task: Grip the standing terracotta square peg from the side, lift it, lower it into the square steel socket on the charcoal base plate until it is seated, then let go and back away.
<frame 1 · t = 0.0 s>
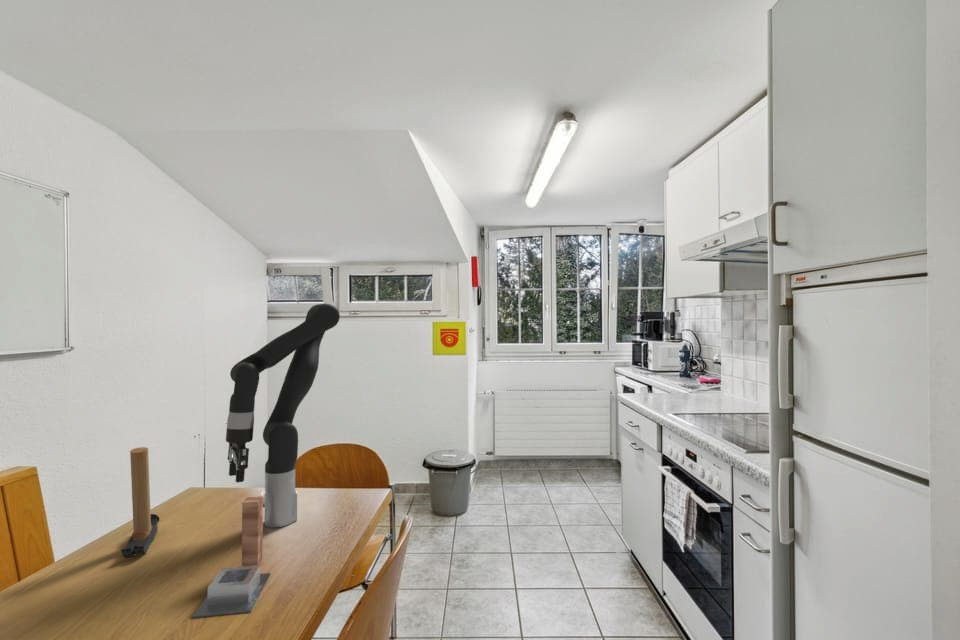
hand: (236, 478, 143), 17 cm above the table, tool pointing down, fingers open, 8 cm apart
mooncake: (277, 500, 172), on the table
hammer: (142, 546, 135), on the table
square peg: (252, 566, 123), on the table
socket base: (234, 596, 110), on the table
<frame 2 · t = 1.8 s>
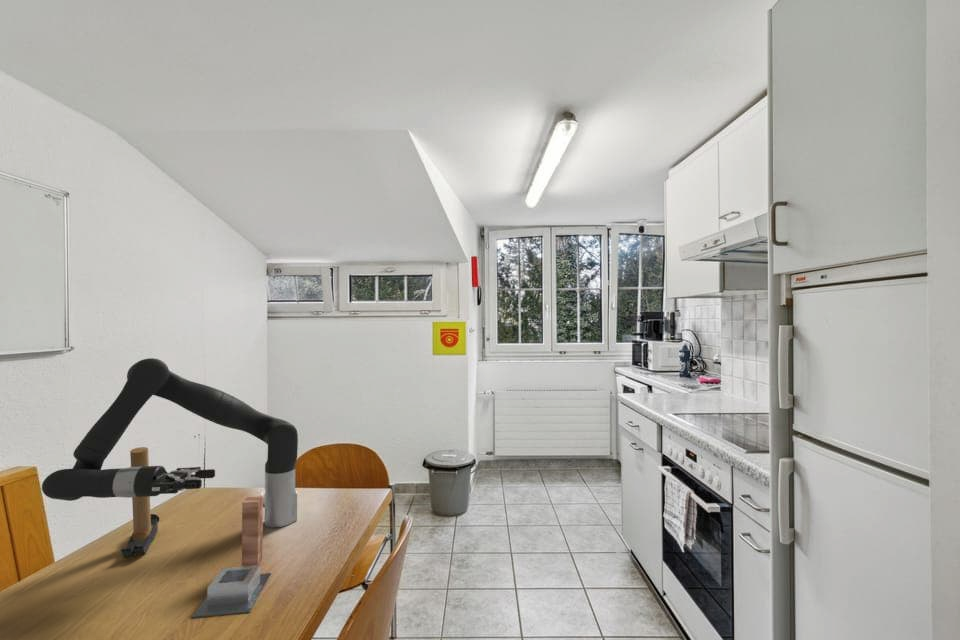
hand: (208, 478, 121), 24 cm above the table, tool horizontal, fingers open, 8 cm apart
nothing on the table moved.
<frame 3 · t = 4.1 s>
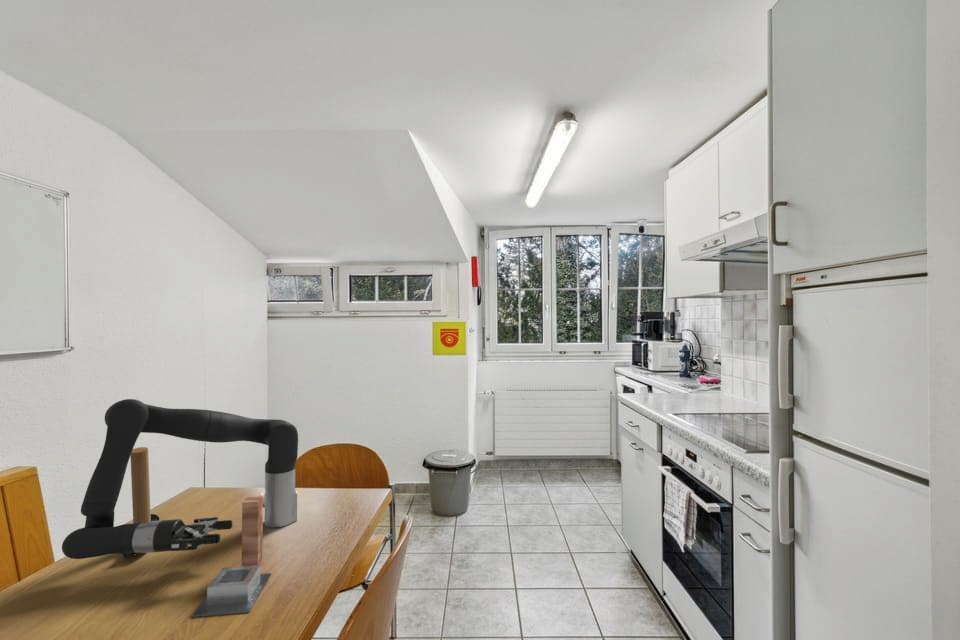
hand: (226, 531, 122), 10 cm above the table, tool horizontal, fingers open, 8 cm apart
nothing on the table moved.
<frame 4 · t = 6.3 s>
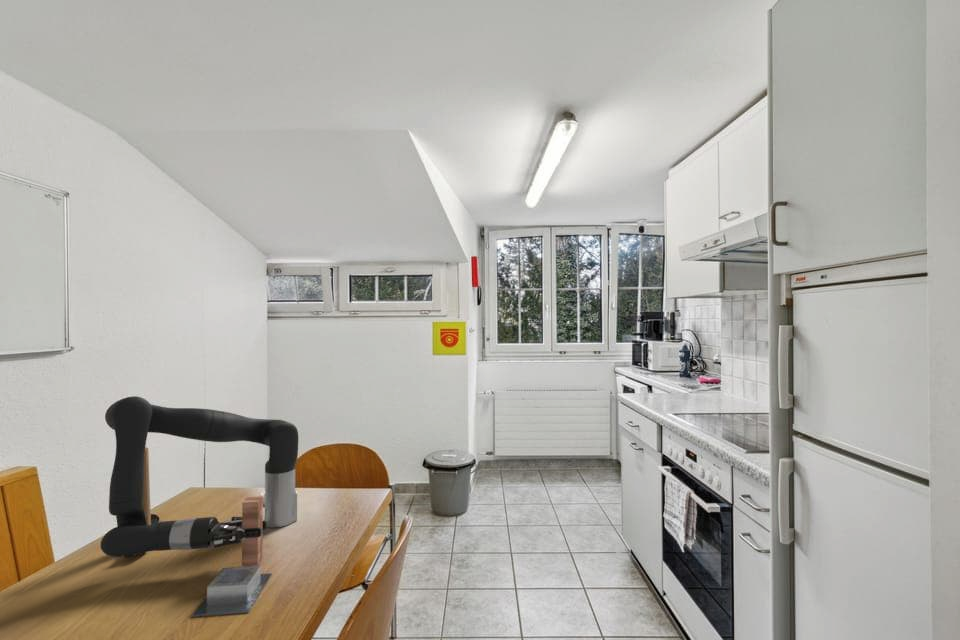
hand: (263, 528, 123), 10 cm above the table, tool horizontal, fingers closed on square peg, 4 cm apart
square peg: (252, 566, 123), on the table, touching gripper
everything else where it was.
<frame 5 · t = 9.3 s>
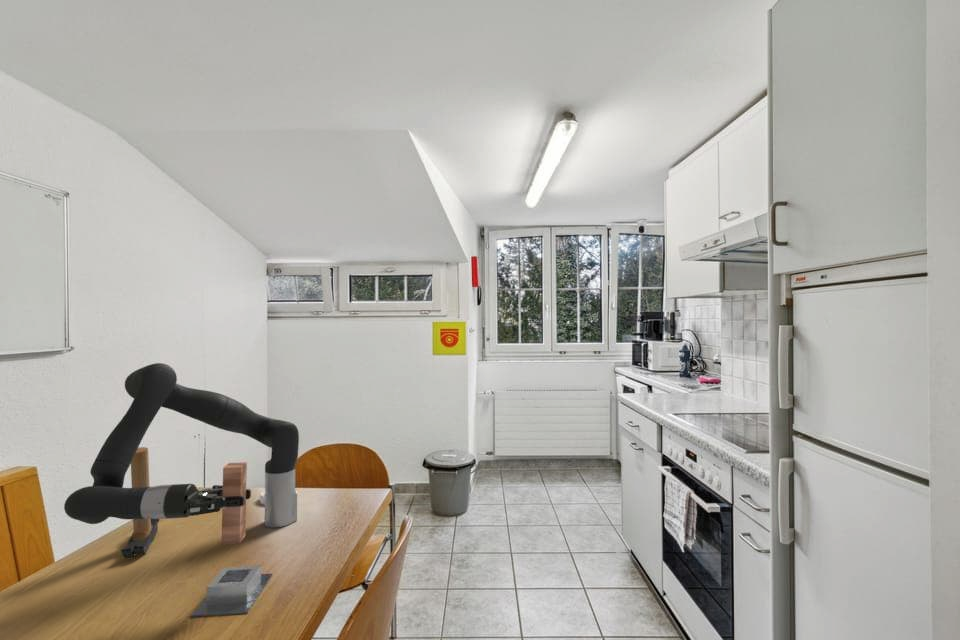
hand: (246, 497, 111), 23 cm above the table, tool horizontal, fingers closed on square peg, 4 cm apart
square peg: (233, 540, 110), point 13 cm above the table, touching gripper
everything else where it was.
when the fingers open (11 cm above the table, at t = 12.5 s): square peg stays where it is, resting on socket base.
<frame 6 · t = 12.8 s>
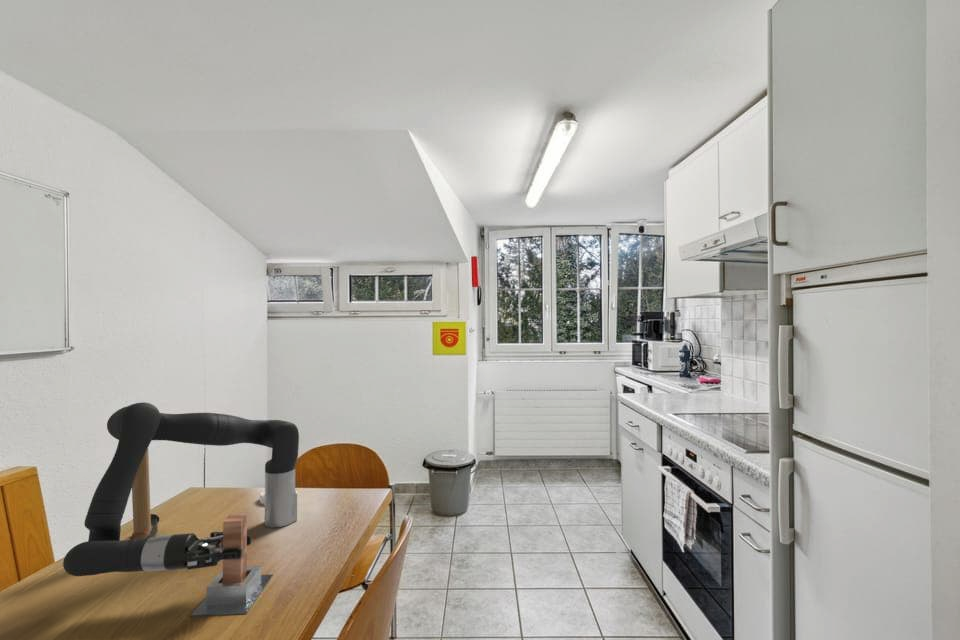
hand: (246, 546, 111), 11 cm above the table, tool horizontal, fingers open, 6 cm apart
square peg: (234, 593, 110), resting on socket base
socket base: (234, 597, 110), on the table, touching square peg
everything else where it was.
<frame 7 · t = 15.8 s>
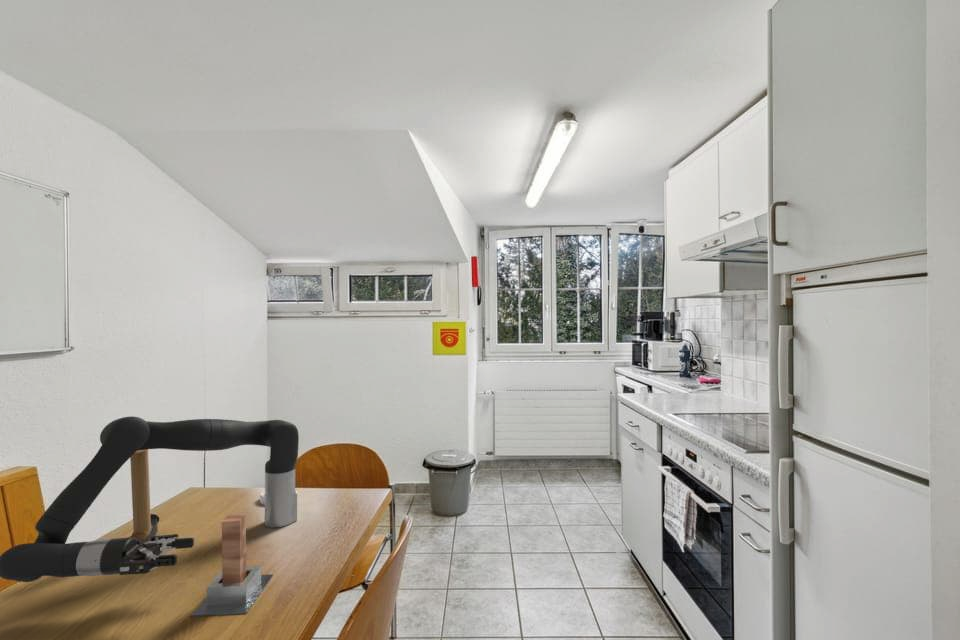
hand: (185, 550, 108), 11 cm above the table, tool horizontal, fingers open, 8 cm apart
nothing on the table moved.
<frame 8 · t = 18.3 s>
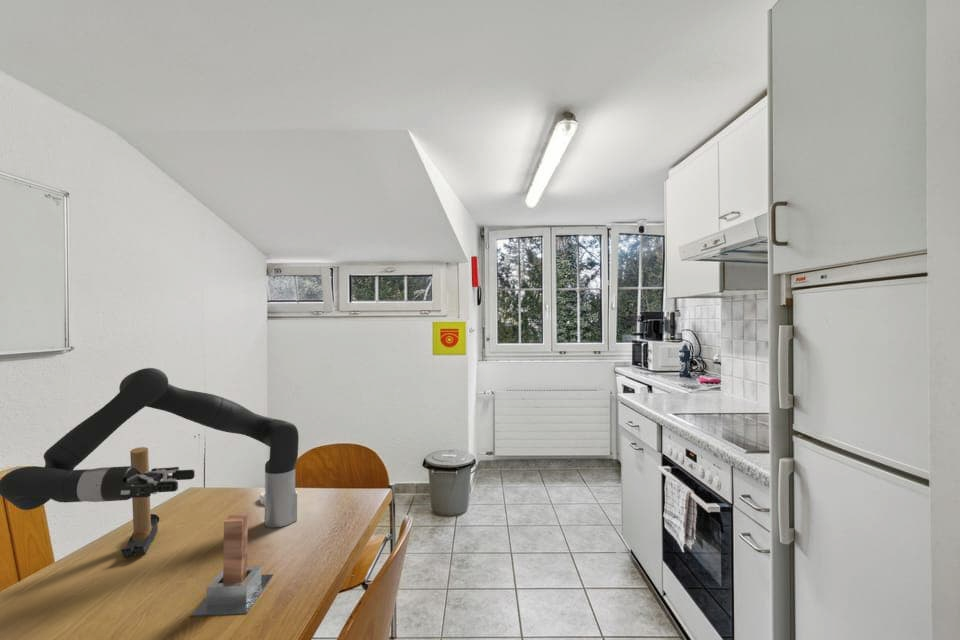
hand: (185, 479, 109), 28 cm above the table, tool horizontal, fingers open, 8 cm apart
square peg: (235, 593, 110), resting on socket base
socket base: (235, 597, 110), on the table
everything else where it was.
at the end: square peg 0.0 cm off-centre on the socket base, point 1.0 cm above the socket base's base; square peg tilted 1°; the gripper is holding nothing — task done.
